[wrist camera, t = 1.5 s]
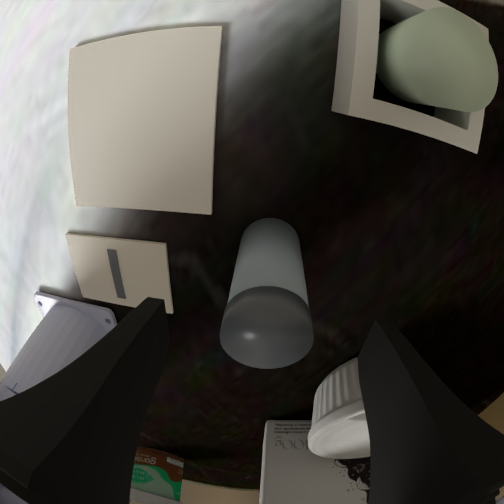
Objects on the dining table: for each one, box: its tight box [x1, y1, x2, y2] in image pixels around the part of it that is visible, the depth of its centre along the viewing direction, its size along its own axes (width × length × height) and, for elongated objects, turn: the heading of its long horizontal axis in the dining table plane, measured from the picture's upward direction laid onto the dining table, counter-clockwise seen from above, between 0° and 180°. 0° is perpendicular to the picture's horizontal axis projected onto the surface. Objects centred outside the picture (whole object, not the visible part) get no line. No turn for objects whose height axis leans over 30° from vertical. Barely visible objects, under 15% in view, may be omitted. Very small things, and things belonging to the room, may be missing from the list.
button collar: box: [331, 0, 489, 154], centre depth 8 cm, size 6×6×3 cm
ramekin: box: [308, 357, 370, 459], centre depth 19 cm, size 11×11×5 cm
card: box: [65, 233, 174, 314], centre depth 16 cm, size 5×7×1 cm
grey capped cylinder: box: [220, 218, 314, 369], centre depth 12 cm, size 3×3×6 cm
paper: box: [68, 26, 223, 215], centre depth 12 cm, size 9×8×1 cm
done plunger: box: [376, 7, 498, 112], centre depth 7 cm, size 4×4×4 cm
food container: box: [129, 447, 184, 504], centre depth 31 cm, size 12×6×10 cm, turn 120°
